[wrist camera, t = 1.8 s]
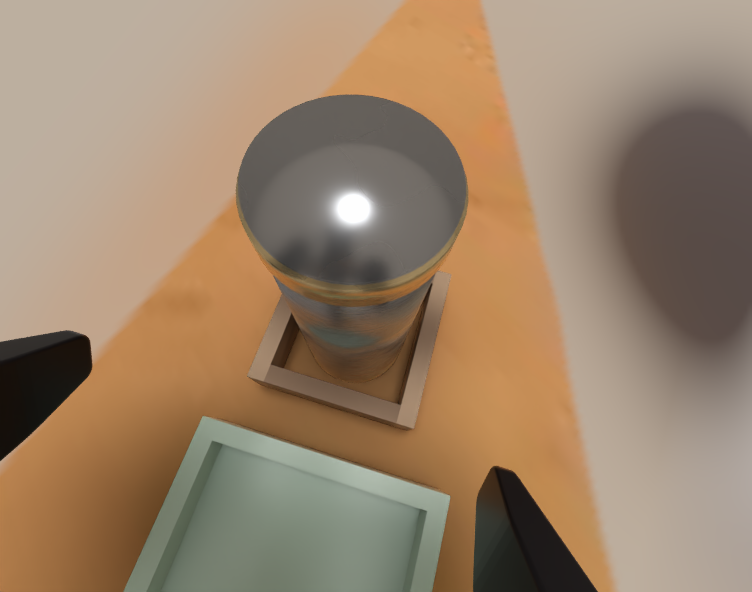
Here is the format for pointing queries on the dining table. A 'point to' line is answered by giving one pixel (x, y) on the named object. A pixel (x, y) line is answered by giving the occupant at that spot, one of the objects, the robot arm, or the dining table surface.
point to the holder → (397, 415)
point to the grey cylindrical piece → (352, 222)
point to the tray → (287, 522)
